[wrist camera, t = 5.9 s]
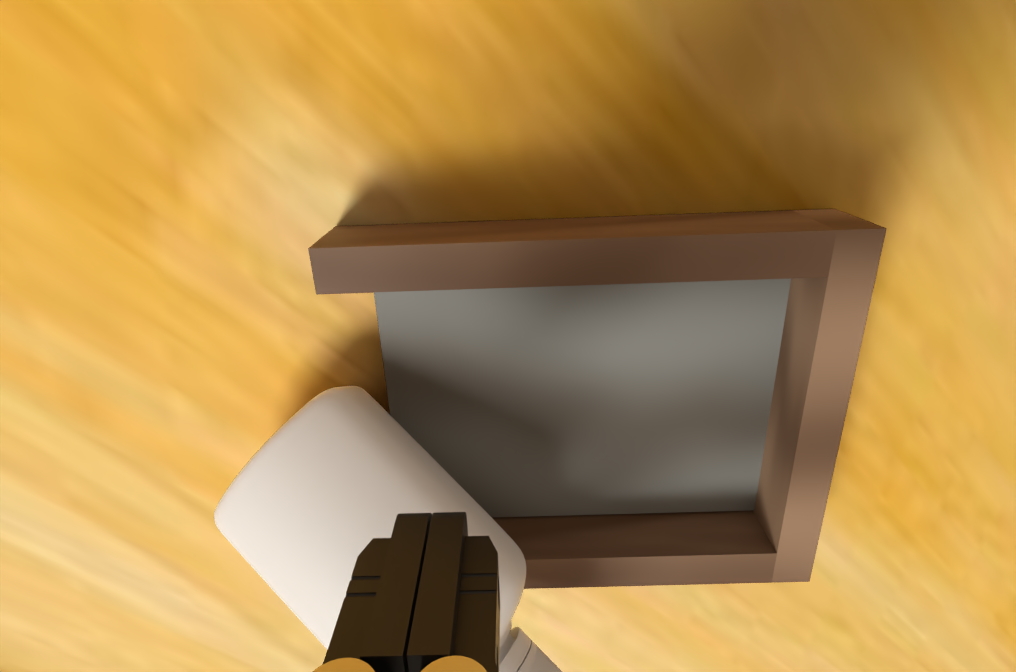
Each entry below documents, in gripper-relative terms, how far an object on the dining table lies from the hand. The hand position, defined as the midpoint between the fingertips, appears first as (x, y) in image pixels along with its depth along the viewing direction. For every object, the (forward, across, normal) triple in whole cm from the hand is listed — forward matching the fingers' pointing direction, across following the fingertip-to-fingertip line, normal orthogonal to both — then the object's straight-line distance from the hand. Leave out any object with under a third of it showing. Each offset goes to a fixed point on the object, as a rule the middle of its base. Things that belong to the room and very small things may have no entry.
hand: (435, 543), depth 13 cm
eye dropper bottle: (+5, +5, 0) cm, 7 cm away
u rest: (+6, -3, 0) cm, 7 cm away
